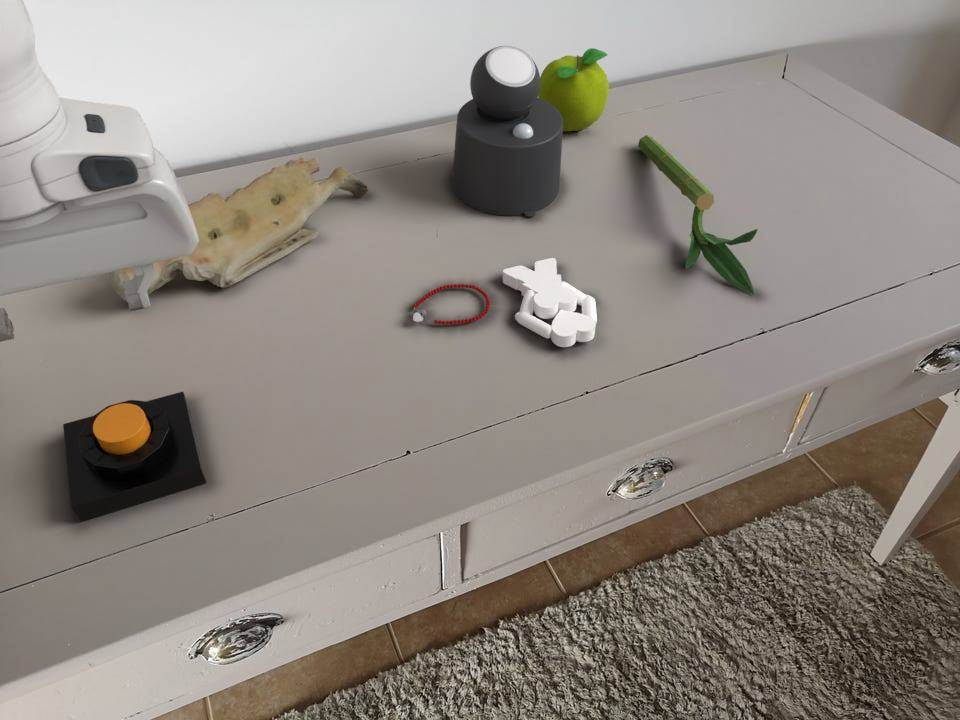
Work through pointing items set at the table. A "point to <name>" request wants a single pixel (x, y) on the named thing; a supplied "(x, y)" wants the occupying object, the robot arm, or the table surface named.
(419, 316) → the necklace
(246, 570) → the table surface
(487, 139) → the light fixture
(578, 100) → the fruit
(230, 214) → the statue
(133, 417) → the light button
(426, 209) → the table surface
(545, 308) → the white abstract figurine
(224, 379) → the table surface
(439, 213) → the table surface
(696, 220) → the decorative plant
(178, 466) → the switch box
